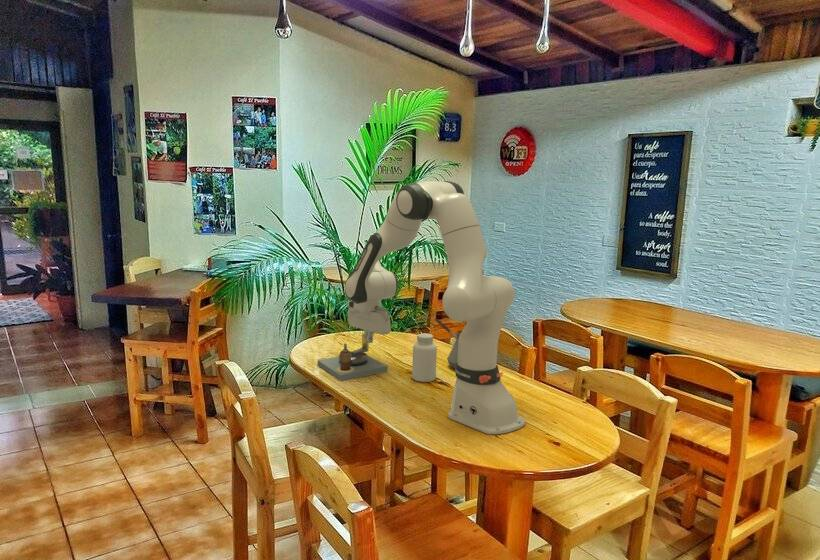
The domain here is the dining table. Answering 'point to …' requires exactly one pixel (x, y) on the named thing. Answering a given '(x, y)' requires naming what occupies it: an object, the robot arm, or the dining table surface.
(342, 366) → the brown bottle
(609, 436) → the dining table surface
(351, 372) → the board
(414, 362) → the pill bottle
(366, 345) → the dial
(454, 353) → the coffee pot
